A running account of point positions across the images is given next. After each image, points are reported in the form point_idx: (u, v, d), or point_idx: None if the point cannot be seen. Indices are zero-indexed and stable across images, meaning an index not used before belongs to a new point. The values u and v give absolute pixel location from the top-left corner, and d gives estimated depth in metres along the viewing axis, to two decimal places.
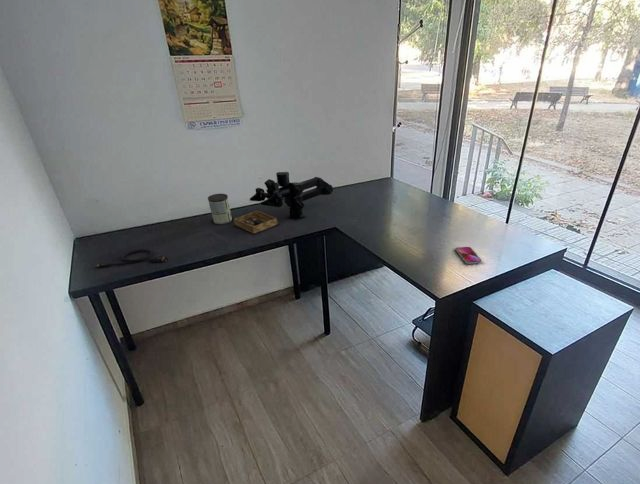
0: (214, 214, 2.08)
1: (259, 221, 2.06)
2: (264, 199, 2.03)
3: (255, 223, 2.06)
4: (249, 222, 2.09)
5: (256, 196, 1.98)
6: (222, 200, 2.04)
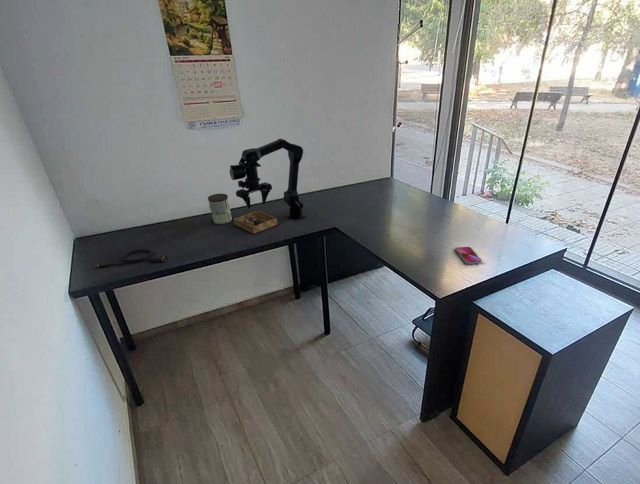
0: (214, 214, 2.08)
1: (259, 221, 2.06)
2: (266, 187, 1.98)
3: (255, 223, 2.06)
4: (249, 222, 2.09)
5: (262, 195, 2.02)
6: (222, 200, 2.04)
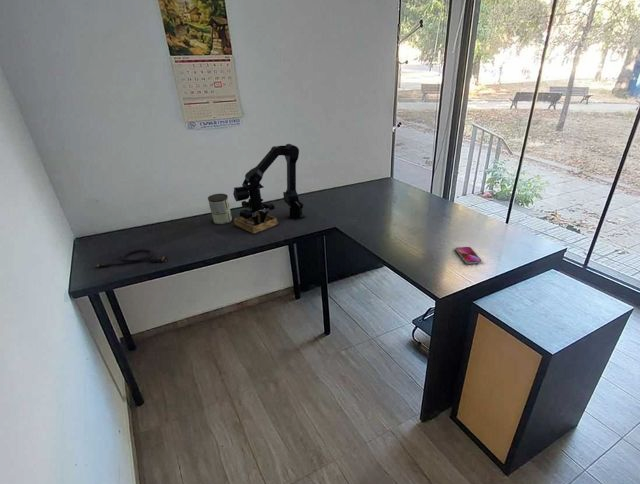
0: (214, 214, 2.08)
1: (259, 221, 2.06)
2: (268, 207, 2.04)
3: None
4: (249, 222, 2.09)
5: (260, 216, 2.06)
6: (222, 200, 2.04)
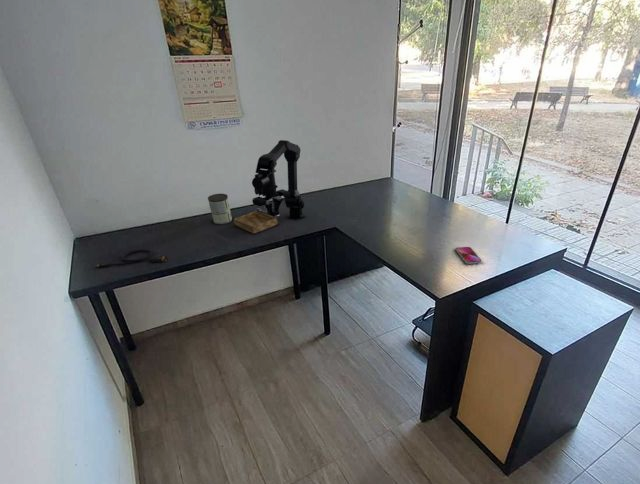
0: (214, 214, 2.08)
1: (273, 209, 1.92)
2: (283, 194, 1.90)
3: (268, 212, 1.93)
4: (262, 211, 1.96)
5: (274, 204, 1.93)
6: (222, 200, 2.04)
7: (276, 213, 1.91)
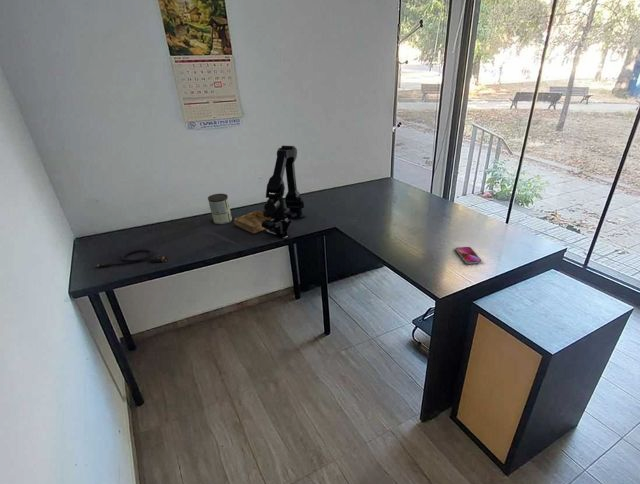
0: (214, 214, 2.08)
1: (281, 231, 1.96)
2: (291, 216, 1.94)
3: None
4: (270, 232, 1.99)
5: (283, 226, 1.96)
6: (222, 200, 2.04)
7: (284, 235, 1.95)
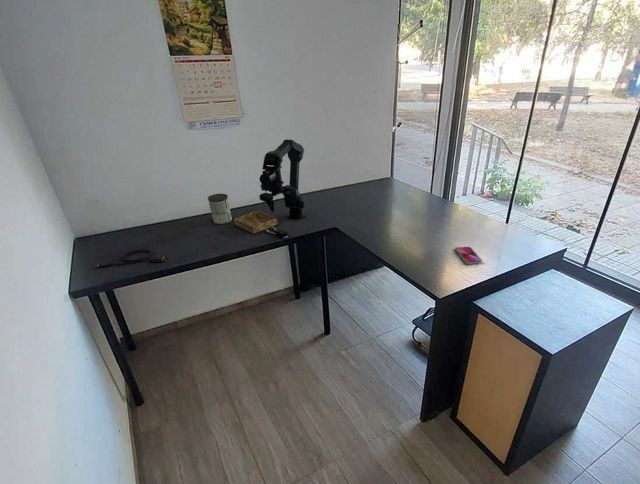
0: (214, 214, 2.08)
1: (281, 231, 1.96)
2: (289, 189, 1.94)
3: (277, 233, 1.96)
4: (270, 232, 1.99)
5: (285, 198, 1.98)
6: (222, 200, 2.04)
7: (284, 235, 1.95)
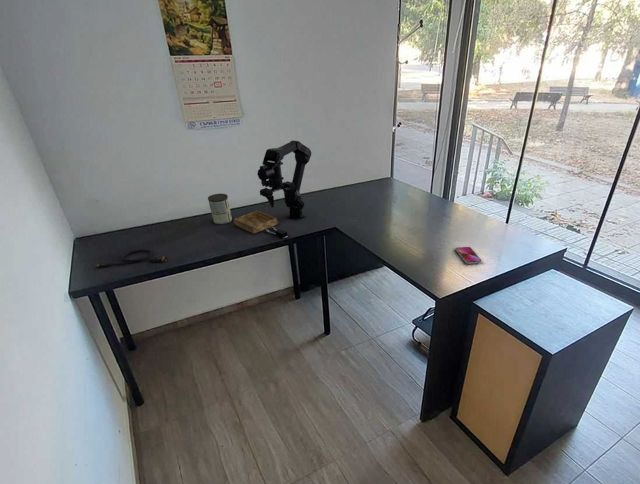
0: (214, 214, 2.08)
1: (281, 231, 1.96)
2: (289, 185, 1.98)
3: (277, 233, 1.96)
4: (270, 232, 1.99)
5: (285, 194, 2.02)
6: (222, 200, 2.04)
7: (284, 235, 1.95)
